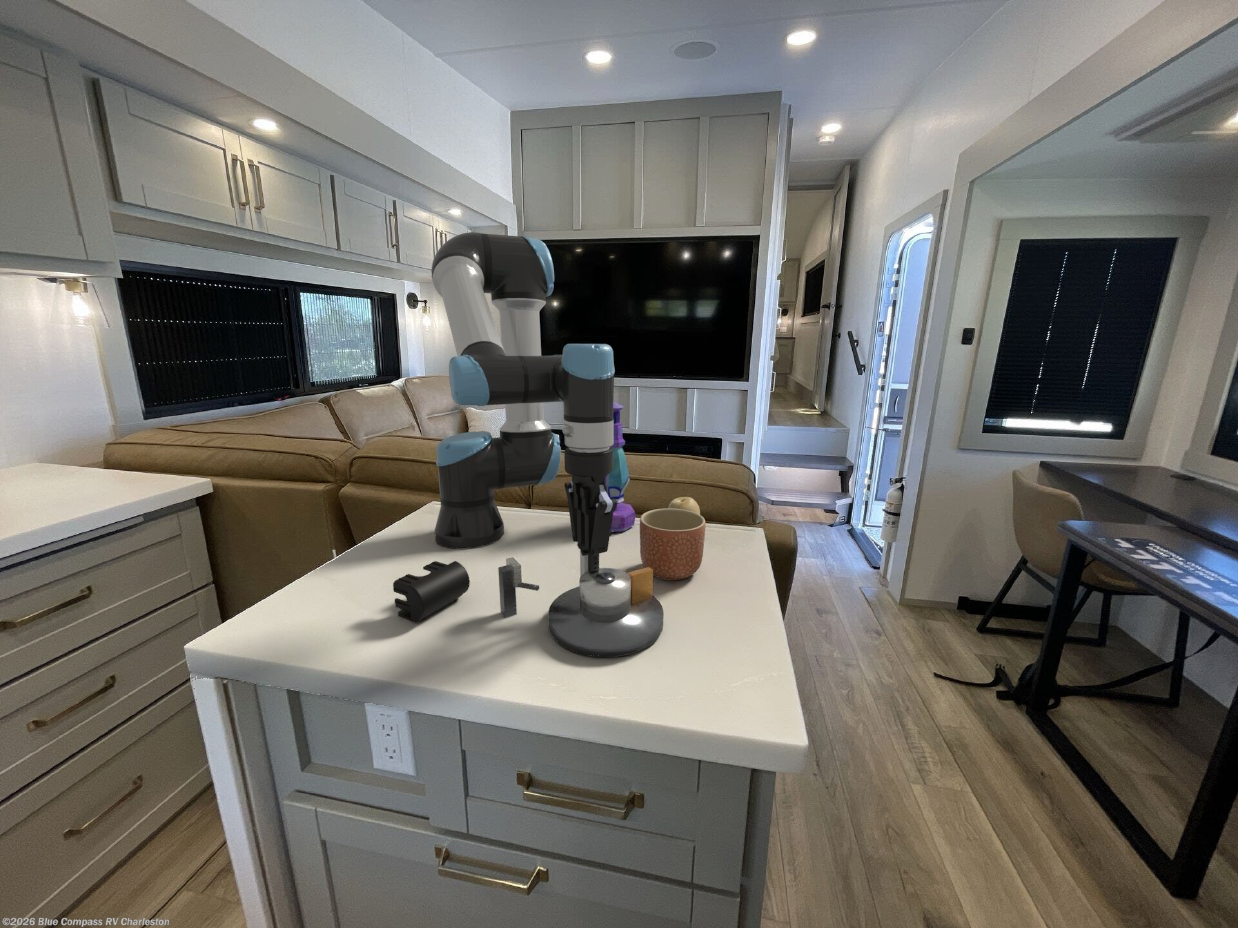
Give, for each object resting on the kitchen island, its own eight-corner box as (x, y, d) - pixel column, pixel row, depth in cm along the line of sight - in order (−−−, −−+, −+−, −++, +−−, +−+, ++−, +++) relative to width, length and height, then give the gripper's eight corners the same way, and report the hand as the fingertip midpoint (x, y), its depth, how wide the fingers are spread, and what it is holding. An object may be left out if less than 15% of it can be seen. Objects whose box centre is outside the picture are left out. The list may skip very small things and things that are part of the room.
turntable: (530, 611, 80) (529, 571, 78) (623, 583, 89) (623, 548, 88) (582, 672, 65) (581, 626, 64) (686, 632, 75) (688, 590, 73)
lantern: (594, 514, 126) (594, 397, 119) (639, 517, 124) (641, 399, 117) (580, 533, 114) (579, 404, 106) (630, 537, 111) (632, 406, 104)
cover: (570, 604, 78) (570, 573, 77) (612, 590, 83) (612, 561, 81) (596, 628, 72) (596, 594, 71) (640, 612, 76) (641, 580, 75)
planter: (686, 593, 87) (689, 536, 84) (626, 576, 93) (627, 522, 91) (712, 567, 97) (715, 515, 94) (657, 553, 103) (658, 504, 101)
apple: (708, 528, 117) (698, 505, 113) (677, 540, 118) (666, 518, 113) (699, 507, 123) (689, 485, 119) (669, 519, 124) (659, 498, 120)
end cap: (425, 629, 76) (421, 589, 74) (394, 617, 79) (389, 579, 77) (471, 600, 84) (469, 564, 83) (442, 590, 87) (439, 555, 86)
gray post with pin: (499, 609, 81) (496, 560, 79) (526, 602, 84) (524, 554, 81) (512, 628, 76) (510, 576, 74) (541, 619, 78) (539, 569, 76)
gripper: (548, 442, 78) (552, 577, 84) (587, 458, 68) (588, 611, 73) (589, 438, 82) (590, 567, 88) (632, 452, 72) (630, 598, 77)
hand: (589, 587), depth 81 cm, fingers closed
